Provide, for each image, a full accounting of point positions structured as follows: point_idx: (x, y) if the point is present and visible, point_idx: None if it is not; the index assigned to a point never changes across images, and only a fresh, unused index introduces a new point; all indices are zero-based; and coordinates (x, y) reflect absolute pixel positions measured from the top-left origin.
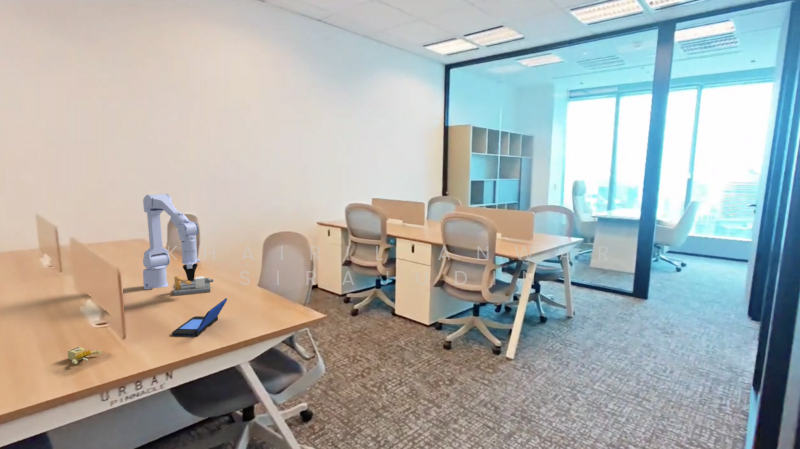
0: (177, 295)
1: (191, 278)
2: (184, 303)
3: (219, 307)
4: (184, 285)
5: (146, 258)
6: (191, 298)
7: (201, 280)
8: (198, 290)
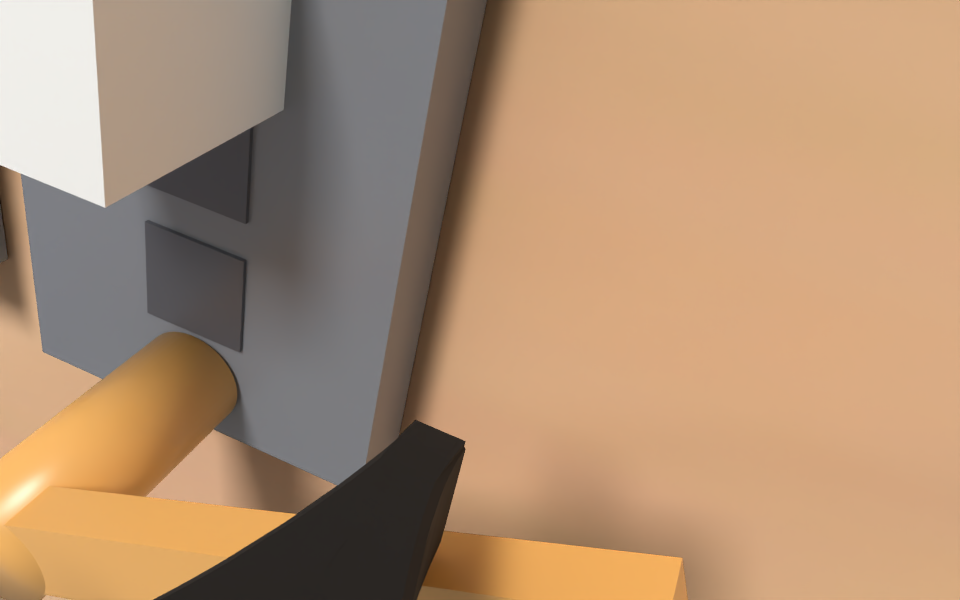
0: (395, 412)
1: (423, 554)
2: (930, 499)
3: None
4: None
5: None
6: (679, 287)
7: (149, 20)
8: (431, 99)
